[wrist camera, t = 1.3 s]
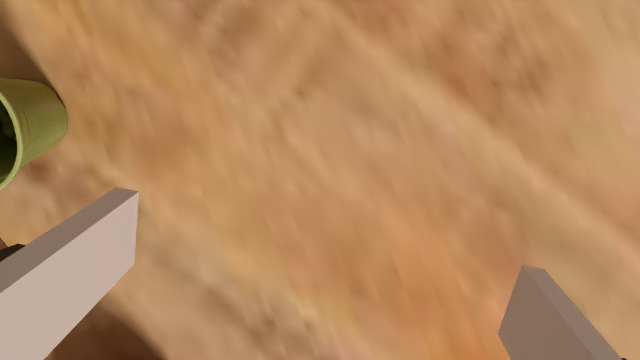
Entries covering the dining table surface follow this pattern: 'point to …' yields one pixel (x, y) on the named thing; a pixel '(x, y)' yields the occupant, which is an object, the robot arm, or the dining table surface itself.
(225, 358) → the dining table surface
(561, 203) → the dining table surface
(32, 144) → the plant pot
